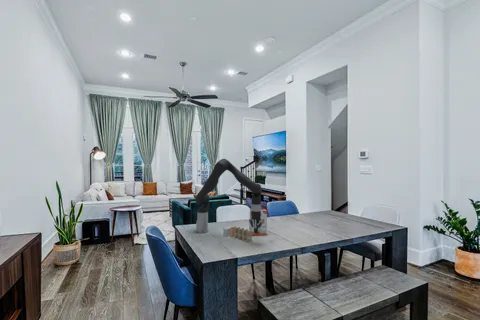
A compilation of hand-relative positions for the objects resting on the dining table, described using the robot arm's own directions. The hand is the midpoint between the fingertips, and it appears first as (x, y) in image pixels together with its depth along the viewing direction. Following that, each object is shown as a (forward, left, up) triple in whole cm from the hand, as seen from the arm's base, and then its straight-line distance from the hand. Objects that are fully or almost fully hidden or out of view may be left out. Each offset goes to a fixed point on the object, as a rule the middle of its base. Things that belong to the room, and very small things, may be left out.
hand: (255, 233), depth 188 cm
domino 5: (-6, +4, -8) cm, 10 cm away
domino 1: (-21, +12, -8) cm, 26 cm away
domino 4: (-10, +6, -8) cm, 14 cm away
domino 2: (-17, +10, -8) cm, 22 cm away
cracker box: (-3, +24, -8) cm, 25 cm away
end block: (-26, +15, -8) cm, 31 cm away
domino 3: (-14, +8, -8) cm, 17 cm away
